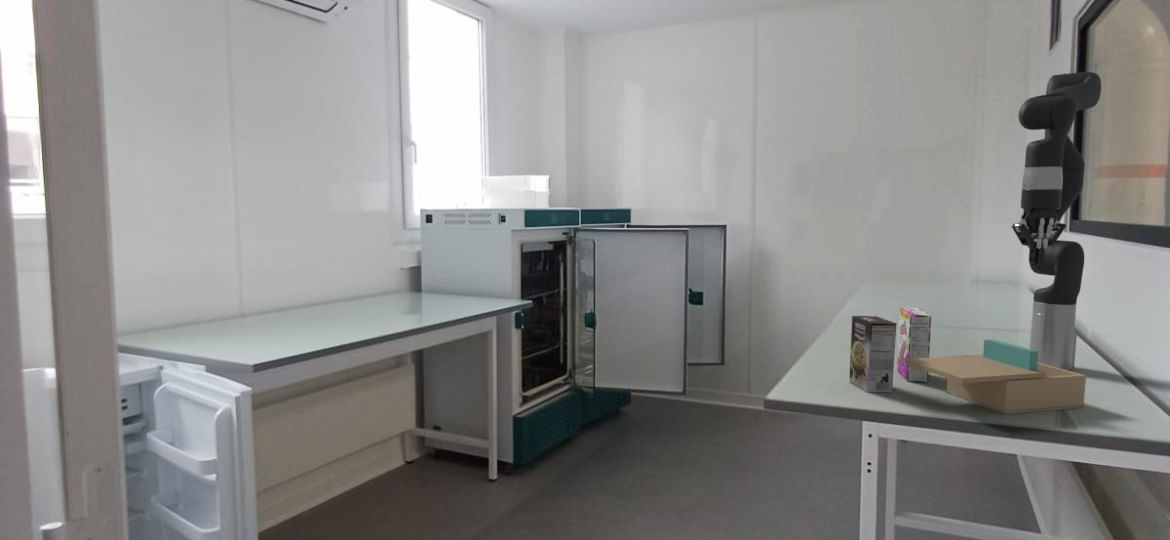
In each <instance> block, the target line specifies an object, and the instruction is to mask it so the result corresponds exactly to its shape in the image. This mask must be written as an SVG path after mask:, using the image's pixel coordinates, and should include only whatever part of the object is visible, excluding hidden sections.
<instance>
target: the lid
mask: <svg viewBox="0 0 1170 540" xmlns="http://www.w3.org/2000/svg"><path fill="white" fill-rule="evenodd" d="M983 341H984V342H983V352H982V353H983V354H971V355H970V354H967V355H953V356H952V355H951V356H935V357H934V356H933V357H929V358H914V359H905V364H908V365H911V366H914V367H916V368H919V369H922V370H925V371H928V373H931V374H934V375H936V376H939V377H943V378H945V379H947V378H948V379H951V380H954V381H957V382H960V383H972V382H986V381H1000V380H1015V379H1029V378H1044V377H1046V372H1043V371H1039V370H1037V360H1038V351H1036V350H1032V349H1030V348H1027V347H1023V346H1020V345H1015V344H1011V343H1008V342H1003V341H999V340H996V339H992V338H991V339H984V340H983Z"/></svg>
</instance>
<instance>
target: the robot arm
mask: <svg viewBox="0 0 1170 540" xmlns="http://www.w3.org/2000/svg"><path fill="white" fill-rule="evenodd" d="M1045 90H1046V91H1045V94H1042V95H1037V96H1033V97H1030V98H1027V99H1026V100H1025V101H1024V102H1022V105H1021V106H1020V108H1019V110H1018V116H1017V117H1018V121H1019V124H1020V125H1021V127H1023V128H1024V129H1026V130H1029V131H1039V130H1041V131H1042V130H1044V138H1042V139H1038V140H1034V141H1031V142H1029V143H1027V145H1026V149H1025V158H1024V170H1023V174H1022V180H1021V181H1022V182H1021V183H1022V185H1021V195H1020V196H1021V197H1020V198H1021V199H1020V208H1021V209H1022V210H1023V211H1022V212H1023V213H1022V214H1021V217H1020V218H1021V220H1019V221H1018V222H1017V223H1012V225H1011V229H1012V230H1013V232H1014V233H1015V235H1016V237H1017V238H1018V241H1019V242H1020V244H1021V245H1022V246H1026V247H1027V248H1029V251H1028V252H1029V253H1028V263H1029V266H1030V269H1031V271H1032V272H1033V273H1035V274H1038V275H1043V276H1052V277H1053V276H1054V278H1053V282H1052V284H1050V285H1049V286H1046V287H1043V288H1038V289H1036V290H1035V291H1034V293H1033V303H1032V317H1031V327H1030V329H1031V331H1030V342H1029V349H1032V350H1036V351H1038V360H1037V362H1038V363H1042V364H1045V365H1049V366H1053V367H1057V368H1060V369H1064V370H1068V371H1071V370H1072V369H1073V370H1074V369H1075V361H1076V352H1077V351H1076V350H1077V349H1076V347H1077V338H1078V337H1077V336H1078V335H1077V334H1078V333H1077V331H1076V332H1075V326H1076V325H1075V323H1076V313H1077V301H1078V300H1077V299H1078V297H1079V294H1080V292H1081V287H1082V279H1083V275H1084V274H1083V273H1084V266H1085V251H1084V248H1083V246H1082V244H1081V243H1079V242H1077V241H1073V240H1058V239H1059V238H1060V236H1061V235H1062V234H1063V232H1064V230H1066V227H1067V226H1066V225H1067V224H1066V223H1061V220H1062V219H1063V217H1064V216H1065V214H1066V212H1067V211H1068V210H1069V208H1071V206H1072V205H1073V203H1074V202H1075V201H1076V200H1077V198H1078V197H1079V195H1080V193H1081V192H1082V190H1083V186H1084V177H1085V161H1084V160H1085V159H1084V158H1083V156H1082V154H1081V153H1080V151H1079V149H1078V148H1077V147H1076V145H1075V144H1074V142H1072V139H1070V136H1069V133H1070V130H1071V128H1072V126H1073V123H1074V121H1075V119H1076V116H1077V112H1079V111H1083V110H1088V109H1089V110H1090V109H1092V108H1094V107H1095V106H1096V105H1097V104H1098V103H1099V101H1100V98H1101V93H1102V80H1101V77H1100V75H1099V74H1097V73H1096V72H1092V71H1084V72H1082V71H1081V72H1072V73H1069V72H1068V73H1061V74H1059V73H1058V74H1055V75H1052V76H1050V78H1049V79H1048V82H1047V85H1046V89H1045Z"/></svg>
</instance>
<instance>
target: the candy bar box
mask: <svg viewBox="0 0 1170 540" xmlns="http://www.w3.org/2000/svg"><path fill="white" fill-rule="evenodd" d="M931 325H932V315H930V314H929V313H927V312H925V311H923V309H921V308H918V307H899V309H898V328H897V329H898V333H897V335H898V336H897V337H898V339H897V355H896V360H897V361H896V371H897V372H898V373H899V374H900V375H901V376H902V377H903V378H904V379H905V380H906V381H907V382H910V383H912V382H913V383H928V382H929V372H928V371H925V370H922V369H919V368H916V367H914V366H911V365H908V364H905V359H914V358H930V350H931V349H930V347H931V331H932V330H931Z"/></svg>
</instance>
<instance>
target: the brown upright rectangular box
mask: <svg viewBox="0 0 1170 540" xmlns="http://www.w3.org/2000/svg"><path fill="white" fill-rule="evenodd" d="M850 335H851V336H850V356H849V357H850V358H849V359H850V360H849V378H848V379H849V380H848V381H849V383H850V384H852V385H854V386H856V387H858V388H859V389H861V390H862V391H864V392H866V393H892V392H893V385H894V383H893V382H894V370H895V369H894V368H895V354H896V341H897V340H896V338H897V336H896V335H897V323H896V322H893V321H891V320H888V319H885V318H883V317H879V316H877V315H873V316H872V315H853V316H851V334H850Z"/></svg>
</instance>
